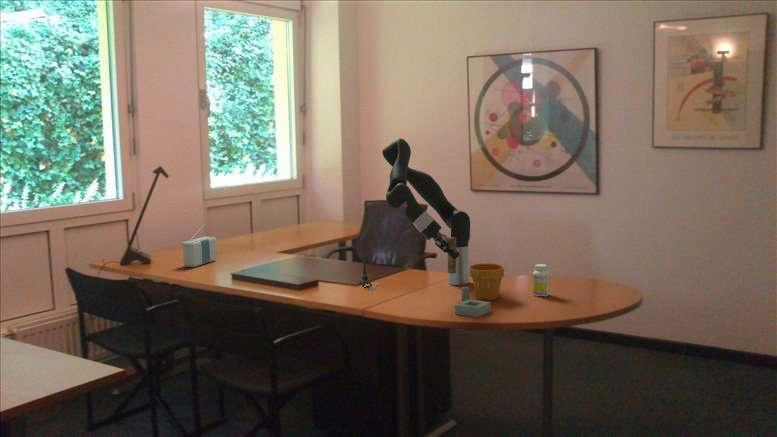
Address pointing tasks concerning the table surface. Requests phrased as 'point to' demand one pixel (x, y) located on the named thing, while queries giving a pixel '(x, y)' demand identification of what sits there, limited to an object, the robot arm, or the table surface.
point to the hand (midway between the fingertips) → (457, 256)
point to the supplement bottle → (541, 280)
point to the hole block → (472, 308)
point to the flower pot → (487, 280)
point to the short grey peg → (465, 293)
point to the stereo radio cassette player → (199, 251)
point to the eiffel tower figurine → (366, 280)
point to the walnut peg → (450, 260)
